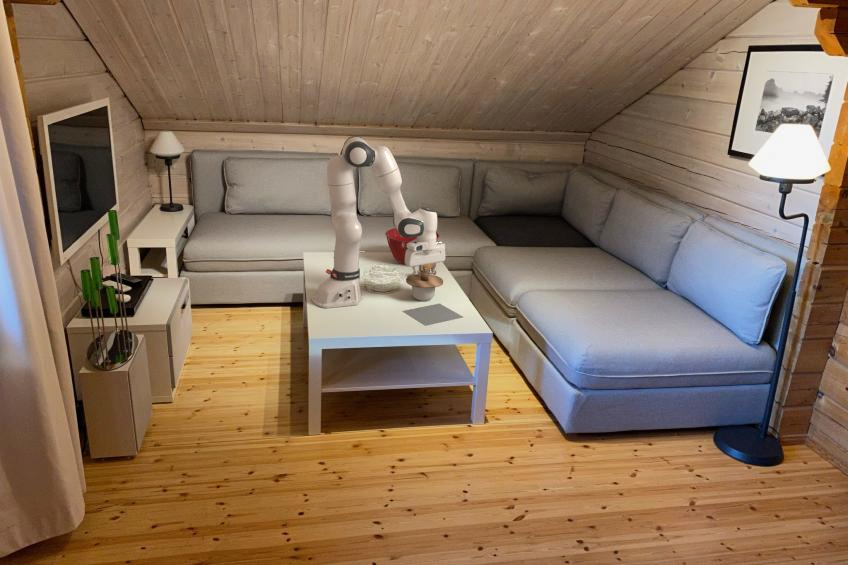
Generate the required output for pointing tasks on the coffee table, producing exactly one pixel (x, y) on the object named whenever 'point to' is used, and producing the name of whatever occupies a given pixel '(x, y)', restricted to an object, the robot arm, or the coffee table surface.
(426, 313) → the mat
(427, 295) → the teacup
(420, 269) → the lion figurine
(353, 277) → the robot arm
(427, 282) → the lid
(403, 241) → the mixing bowl
